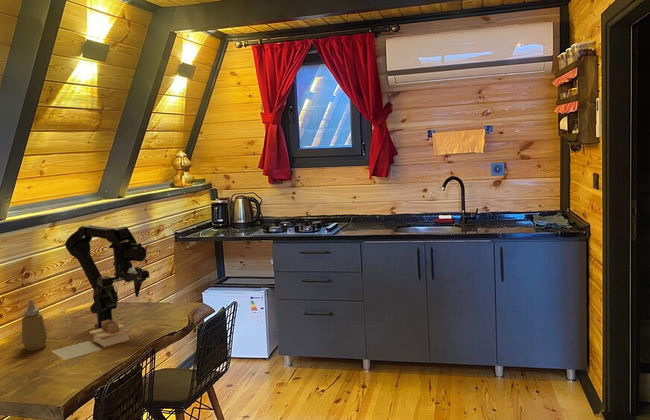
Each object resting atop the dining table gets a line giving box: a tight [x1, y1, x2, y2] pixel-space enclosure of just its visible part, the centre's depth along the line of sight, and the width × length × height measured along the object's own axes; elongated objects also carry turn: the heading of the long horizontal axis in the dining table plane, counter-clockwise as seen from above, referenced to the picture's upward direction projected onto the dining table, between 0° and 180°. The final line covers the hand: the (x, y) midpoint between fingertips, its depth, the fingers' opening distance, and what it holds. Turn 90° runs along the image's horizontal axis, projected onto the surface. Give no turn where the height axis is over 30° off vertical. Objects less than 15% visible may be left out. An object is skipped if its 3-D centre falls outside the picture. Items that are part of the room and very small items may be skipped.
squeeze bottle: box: [21, 299, 48, 351], centre depth 206 cm, size 8×8×18 cm
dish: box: [93, 333, 129, 348], centre depth 211 cm, size 9×9×4 cm
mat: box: [51, 340, 103, 361], centre depth 203 cm, size 13×13×1 cm
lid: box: [89, 320, 133, 340], centre depth 210 cm, size 11×11×4 cm
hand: (125, 299), depth 223 cm, fingers open, 9 cm apart
